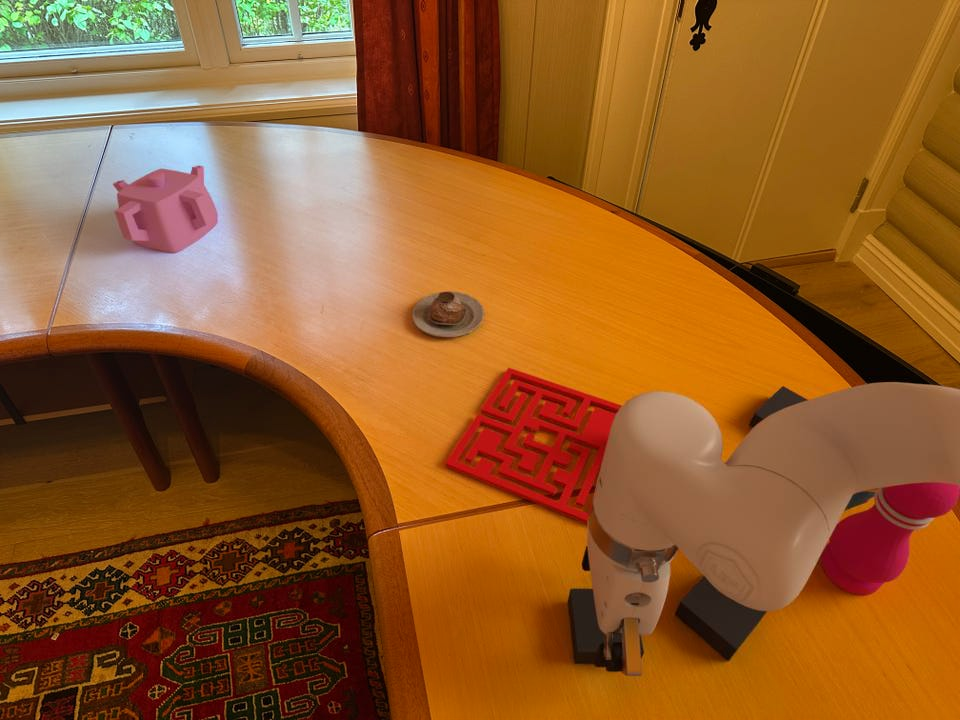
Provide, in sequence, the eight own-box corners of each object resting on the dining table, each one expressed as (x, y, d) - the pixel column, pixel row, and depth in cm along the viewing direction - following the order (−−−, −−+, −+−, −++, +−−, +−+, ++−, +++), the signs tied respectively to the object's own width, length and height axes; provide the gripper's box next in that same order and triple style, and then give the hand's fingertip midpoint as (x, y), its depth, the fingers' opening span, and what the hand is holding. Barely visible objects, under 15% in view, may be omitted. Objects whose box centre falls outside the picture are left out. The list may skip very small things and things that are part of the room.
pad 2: (761, 619, 64) (770, 606, 62) (728, 662, 61) (736, 649, 59) (707, 576, 68) (714, 562, 66) (673, 614, 64) (680, 601, 62)
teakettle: (132, 263, 113) (105, 203, 105) (129, 221, 124) (104, 164, 116) (227, 243, 118) (208, 184, 110) (215, 205, 130) (198, 148, 121)
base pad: (831, 428, 84) (838, 416, 82) (803, 459, 80) (810, 447, 78) (777, 397, 88) (782, 385, 86) (748, 425, 84) (753, 413, 82)
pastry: (431, 290, 107) (429, 269, 104) (494, 306, 104) (494, 284, 101) (400, 331, 99) (397, 308, 96) (468, 349, 96) (467, 326, 93)
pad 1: (627, 601, 65) (632, 588, 63) (638, 664, 61) (644, 652, 59) (567, 601, 65) (570, 588, 63) (574, 664, 61) (577, 652, 59)
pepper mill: (868, 613, 65) (972, 507, 51) (803, 566, 69) (884, 456, 55) (896, 572, 68) (1001, 462, 55) (833, 529, 72) (916, 417, 59)
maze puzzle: (508, 370, 92) (508, 367, 91) (637, 414, 85) (638, 411, 85) (445, 466, 79) (445, 462, 78) (592, 526, 72) (593, 523, 72)
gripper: (711, 628, 43) (658, 708, 55) (659, 438, 55) (625, 536, 67) (605, 627, 43) (575, 707, 55) (577, 437, 55) (557, 535, 67)
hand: (603, 613), depth 61 cm, fingers open, 9 cm apart
